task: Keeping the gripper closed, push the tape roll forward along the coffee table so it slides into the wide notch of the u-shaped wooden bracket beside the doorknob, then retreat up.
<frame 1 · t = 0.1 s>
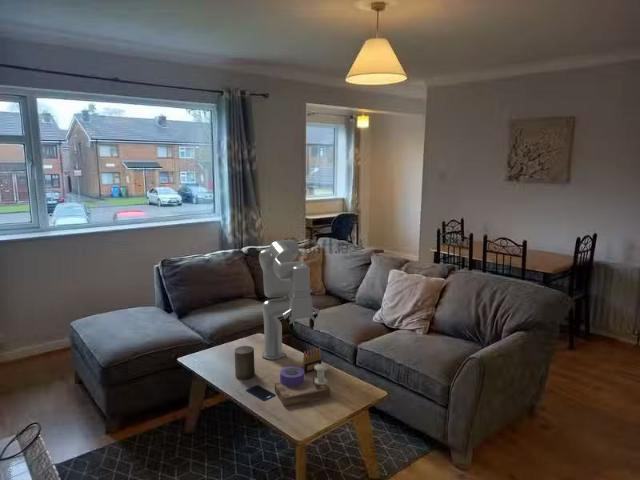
hand: (301, 329, 208), 31 cm above the table, fingers open, 9 cm apart
u-shaped wooden bracket: (301, 393, 214), on the table
tape roll: (292, 381, 226), on the table
cell phone: (260, 394, 215), on the table
pillar candle: (244, 375, 232), on the table
ammunition clip: (312, 370, 237), on the table
doorknob: (320, 382, 217), resting on u-shaped wooden bracket
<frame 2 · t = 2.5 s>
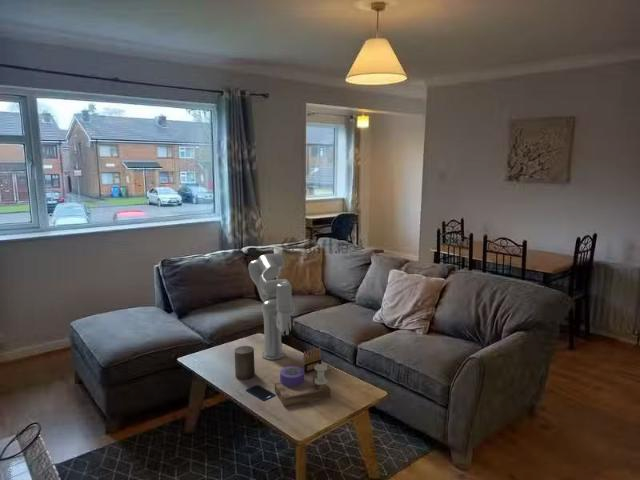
hand: (284, 342, 234), 15 cm above the table, fingers closed
nothing on the table moved.
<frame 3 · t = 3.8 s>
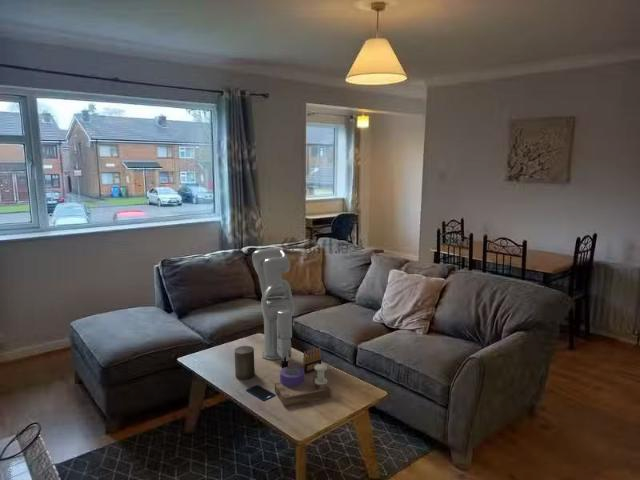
hand: (284, 368, 236), 2 cm above the table, fingers closed
nothing on the table moved.
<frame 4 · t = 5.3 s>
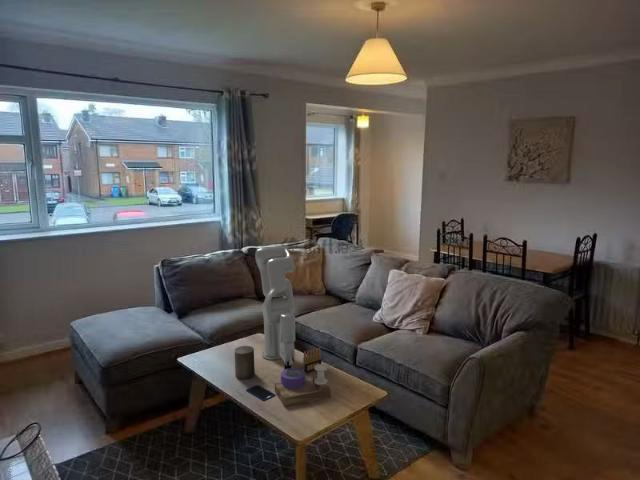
hand: (287, 372, 232), 1 cm above the table, fingers closed
tape roll: (293, 383, 225), on the table, touching gripper
everything else where it was.
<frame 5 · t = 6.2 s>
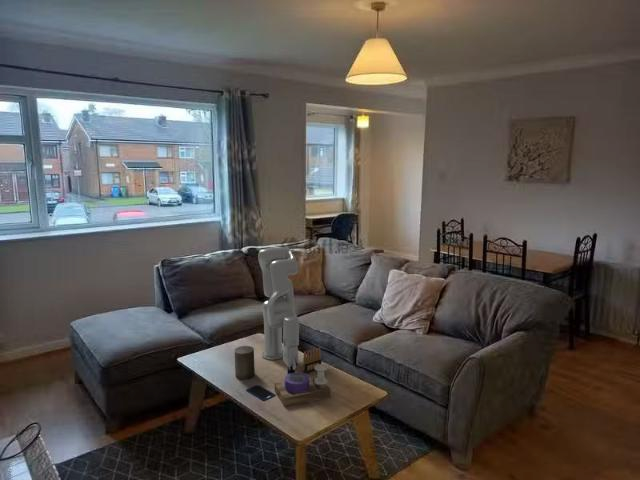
hand: (291, 376, 227), 1 cm above the table, fingers closed
tape roll: (297, 387, 220), on the table, touching gripper
everything else where it was.
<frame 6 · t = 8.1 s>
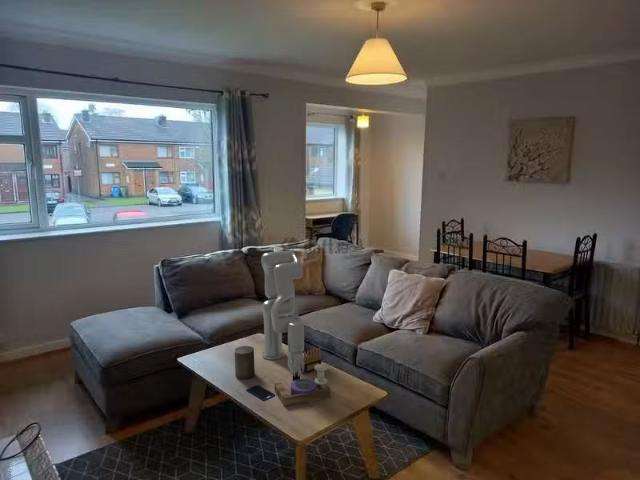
hand: (296, 383, 221), 2 cm above the table, fingers closed
tape roll: (303, 394, 214), on the table, touching gripper
everything else where it was.
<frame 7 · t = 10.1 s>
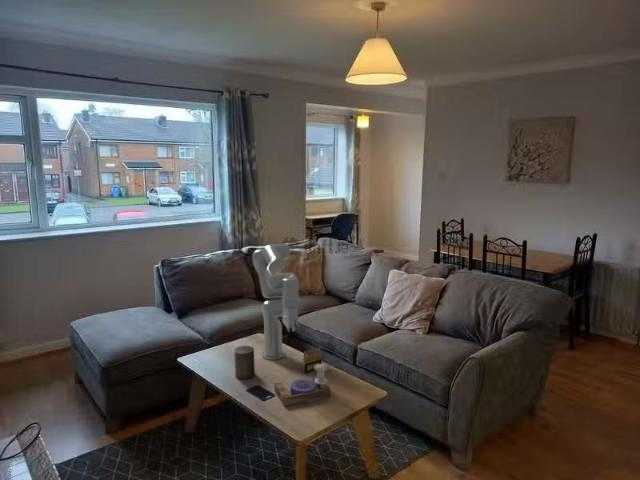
hand: (290, 338, 224), 21 cm above the table, fingers closed
tape roll: (303, 395, 214), on the table
everything else where it was.
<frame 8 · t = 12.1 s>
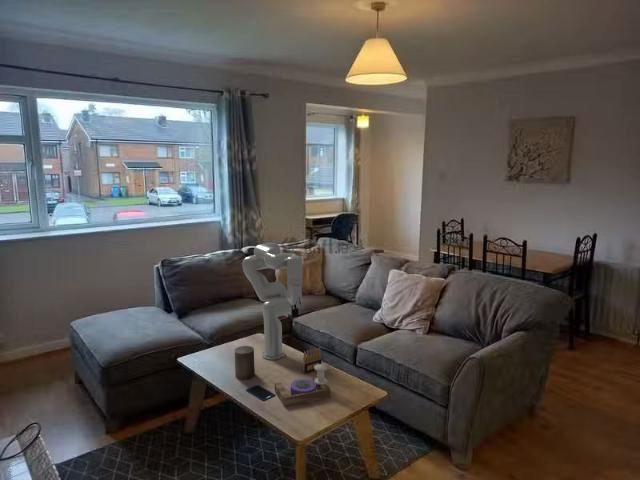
hand: (295, 316, 231), 29 cm above the table, fingers closed
nothing on the table moved.
at the end: tape roll inside the target area (0.5 cm from its centre), on the table; tape roll moved 14.2 cm from its start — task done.
